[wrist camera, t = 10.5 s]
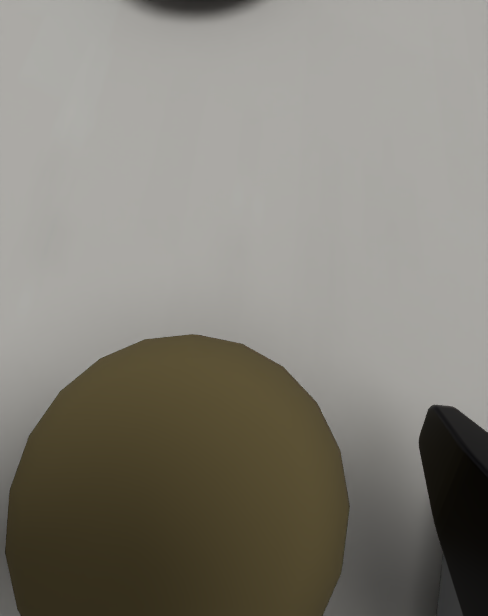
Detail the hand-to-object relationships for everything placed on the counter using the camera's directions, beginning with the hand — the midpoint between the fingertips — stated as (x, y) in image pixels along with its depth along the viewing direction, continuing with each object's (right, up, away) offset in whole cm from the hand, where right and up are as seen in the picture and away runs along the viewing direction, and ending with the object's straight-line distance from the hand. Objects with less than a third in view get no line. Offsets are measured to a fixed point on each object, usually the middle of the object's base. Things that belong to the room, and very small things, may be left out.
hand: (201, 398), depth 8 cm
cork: (0, -4, +7) cm, 8 cm away
